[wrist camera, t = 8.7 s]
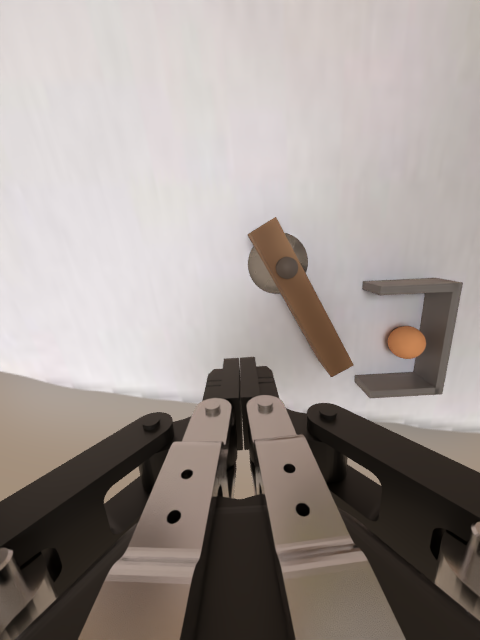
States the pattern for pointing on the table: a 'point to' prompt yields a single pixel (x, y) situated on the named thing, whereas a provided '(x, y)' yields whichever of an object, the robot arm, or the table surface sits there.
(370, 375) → the pocket
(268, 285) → the pin plate
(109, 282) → the table surface
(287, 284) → the lever
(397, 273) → the table surface
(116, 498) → the robot arm
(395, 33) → the table surface
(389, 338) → the ball
